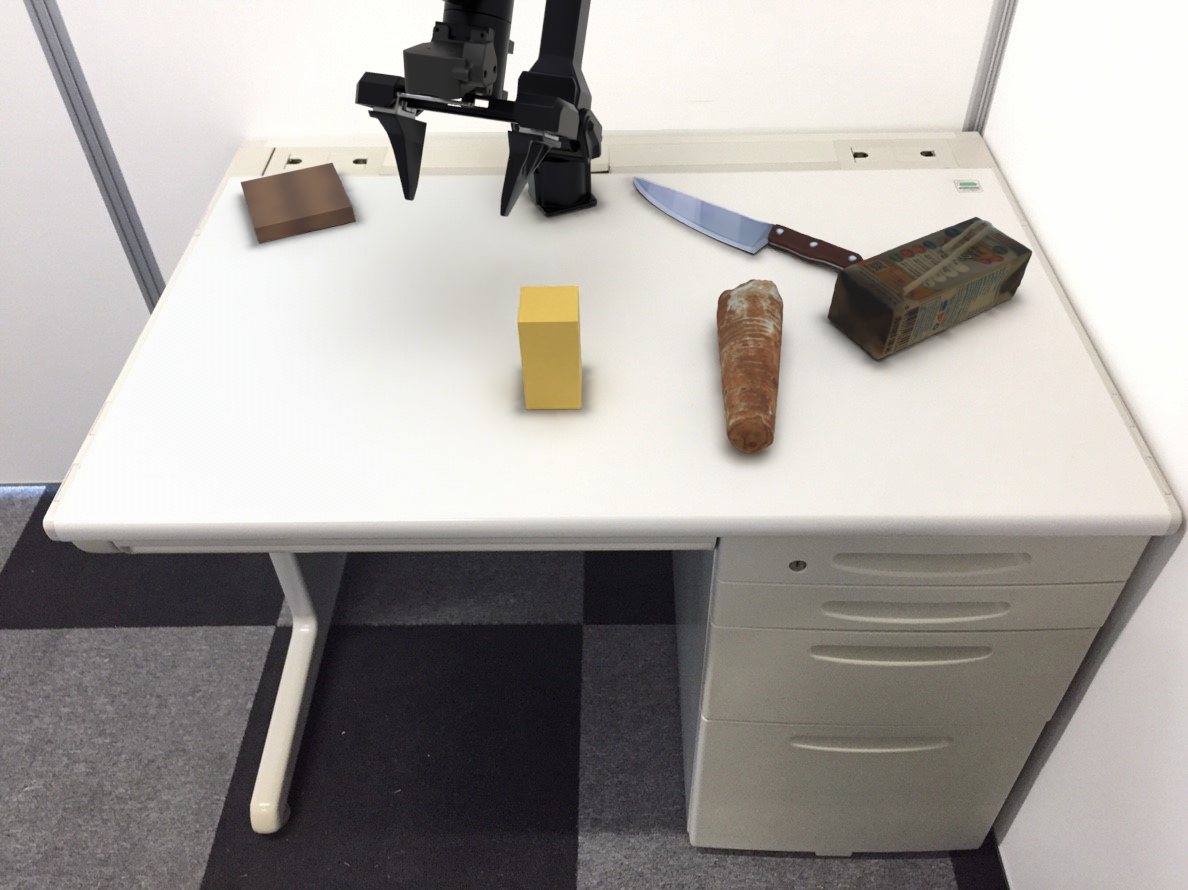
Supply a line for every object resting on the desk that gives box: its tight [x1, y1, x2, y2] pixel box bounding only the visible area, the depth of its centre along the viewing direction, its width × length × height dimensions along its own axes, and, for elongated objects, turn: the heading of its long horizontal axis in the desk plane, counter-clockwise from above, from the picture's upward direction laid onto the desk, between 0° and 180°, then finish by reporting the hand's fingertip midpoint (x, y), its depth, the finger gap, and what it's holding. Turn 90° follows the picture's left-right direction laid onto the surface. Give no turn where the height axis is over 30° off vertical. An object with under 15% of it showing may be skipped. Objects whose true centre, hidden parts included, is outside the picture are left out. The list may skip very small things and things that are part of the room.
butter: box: [516, 285, 583, 410], centre depth 81 cm, size 5×5×10 cm
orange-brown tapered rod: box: [716, 278, 784, 454], centre depth 83 cm, size 6×19×6 cm, turn 171°
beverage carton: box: [827, 216, 1033, 360], centre depth 90 cm, size 8×19×7 cm, turn 121°
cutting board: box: [240, 162, 356, 244], centre depth 107 cm, size 11×11×2 cm
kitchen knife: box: [632, 176, 864, 271], centre depth 102 cm, size 5×31×2 cm, turn 51°
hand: (455, 208), depth 81 cm, fingers open, 9 cm apart
